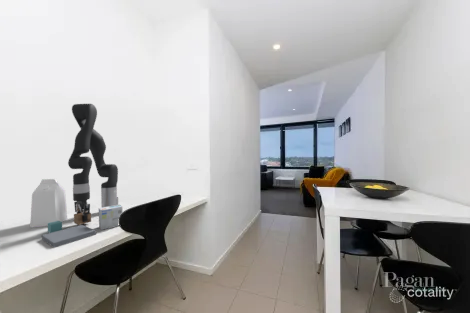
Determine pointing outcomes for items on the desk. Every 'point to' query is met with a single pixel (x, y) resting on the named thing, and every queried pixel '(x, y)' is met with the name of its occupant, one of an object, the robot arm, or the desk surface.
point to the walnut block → (79, 220)
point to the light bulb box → (109, 216)
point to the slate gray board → (68, 235)
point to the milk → (48, 203)
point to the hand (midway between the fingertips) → (82, 220)
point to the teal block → (54, 226)
